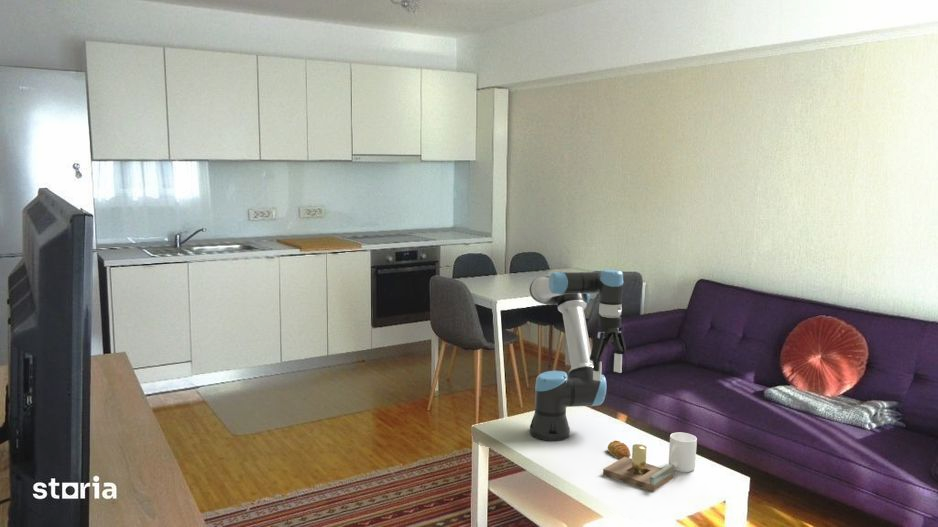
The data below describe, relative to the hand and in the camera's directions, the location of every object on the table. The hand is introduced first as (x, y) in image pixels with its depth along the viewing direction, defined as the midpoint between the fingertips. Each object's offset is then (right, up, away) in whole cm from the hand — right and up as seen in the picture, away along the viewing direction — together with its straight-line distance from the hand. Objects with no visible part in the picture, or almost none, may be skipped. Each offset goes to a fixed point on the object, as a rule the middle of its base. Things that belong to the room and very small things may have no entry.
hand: (607, 376), depth 245 cm
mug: (+23, -30, -6) cm, 38 cm away
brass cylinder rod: (+8, -31, -13) cm, 34 cm away
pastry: (+5, -29, +6) cm, 30 cm away
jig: (+8, -31, -13) cm, 34 cm away
